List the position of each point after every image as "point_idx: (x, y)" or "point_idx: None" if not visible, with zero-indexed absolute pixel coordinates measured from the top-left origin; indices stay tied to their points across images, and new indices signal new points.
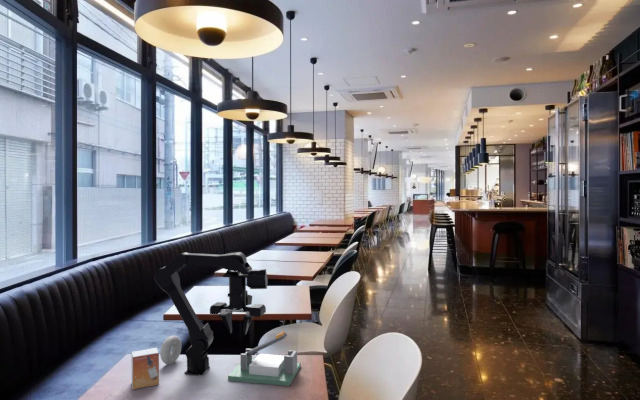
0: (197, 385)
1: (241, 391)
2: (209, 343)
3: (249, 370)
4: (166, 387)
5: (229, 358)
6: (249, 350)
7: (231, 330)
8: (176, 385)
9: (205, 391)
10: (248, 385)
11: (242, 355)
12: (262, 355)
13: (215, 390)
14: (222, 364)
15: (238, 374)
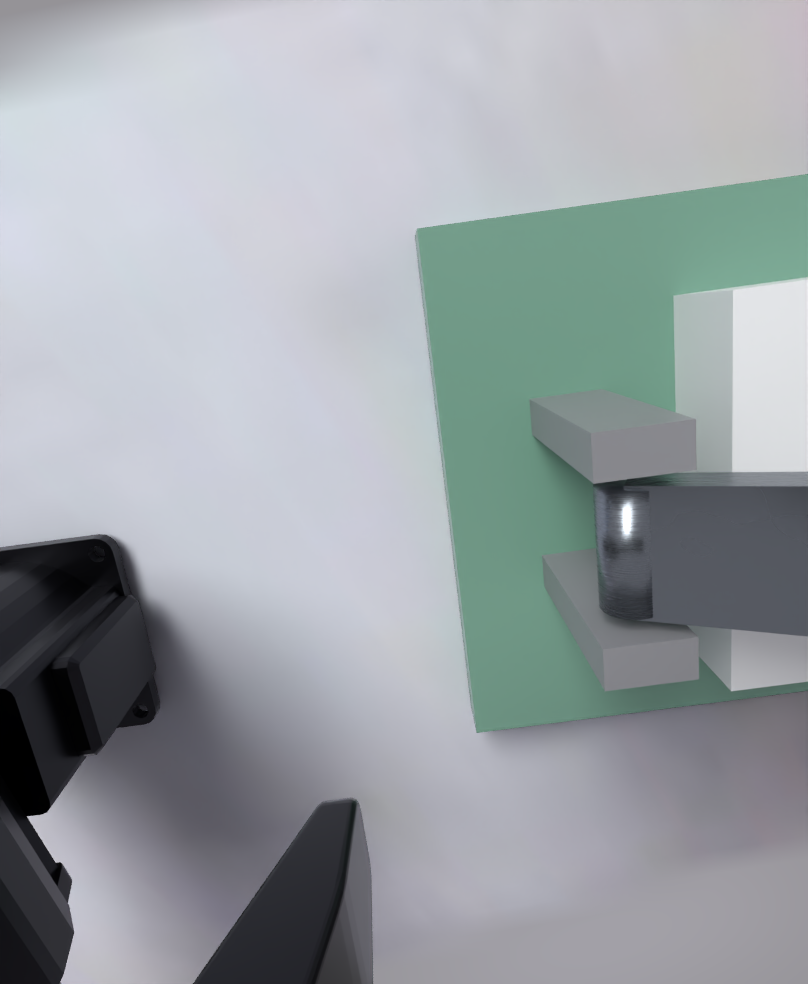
0: (262, 857)
1: (690, 828)
2: (31, 949)
3: (702, 655)
4: None
5: (142, 193)
6: (676, 496)
7: (359, 899)
8: (90, 907)
9: (396, 911)
10: (707, 726)
11: (633, 677)
12: (800, 340)
13: (466, 876)
14: (180, 397)
15: (568, 674)
